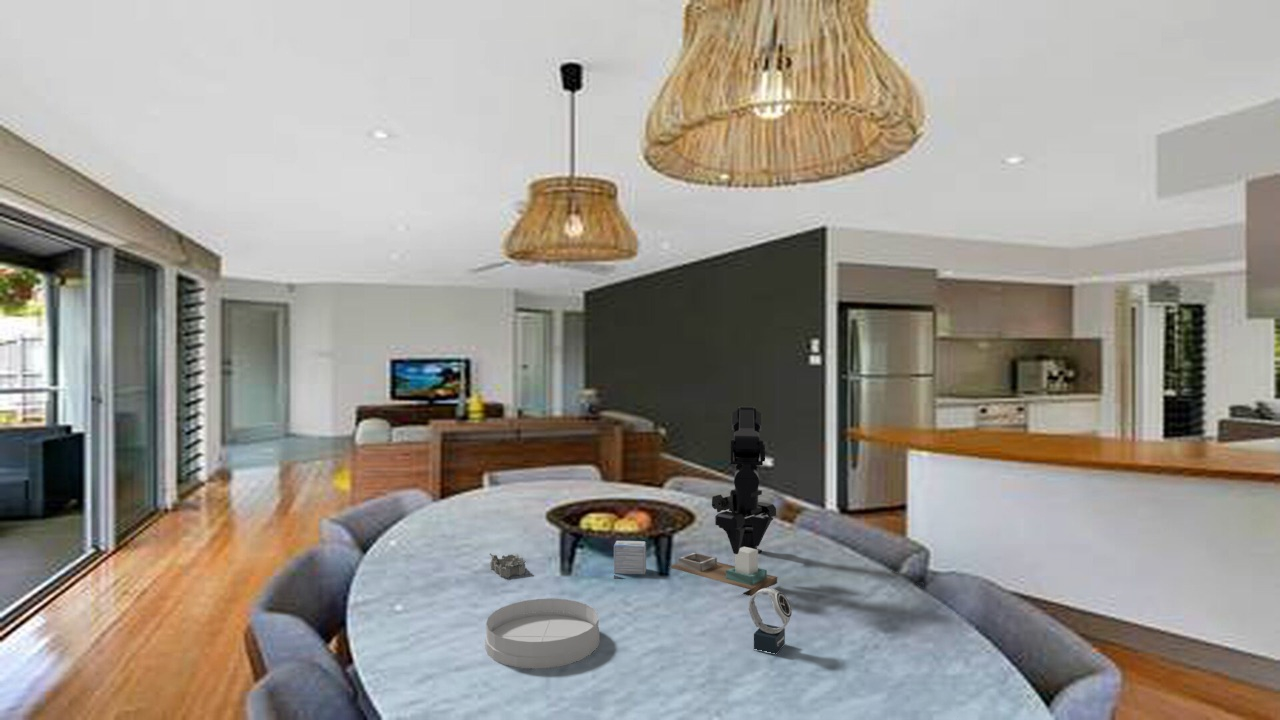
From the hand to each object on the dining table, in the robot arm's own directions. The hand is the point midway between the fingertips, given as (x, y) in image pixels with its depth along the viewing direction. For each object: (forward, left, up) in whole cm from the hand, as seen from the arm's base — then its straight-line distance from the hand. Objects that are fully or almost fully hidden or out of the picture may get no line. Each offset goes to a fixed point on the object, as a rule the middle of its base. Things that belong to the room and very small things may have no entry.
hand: (746, 549), depth 165 cm
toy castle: (+33, -52, -9) cm, 62 cm away
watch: (+27, +23, -9) cm, 36 cm away
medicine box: (+15, -25, -9) cm, 30 cm away
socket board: (0, -8, -9) cm, 11 cm away
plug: (0, 0, -7) cm, 7 cm away
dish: (+55, -11, -9) cm, 57 cm away
